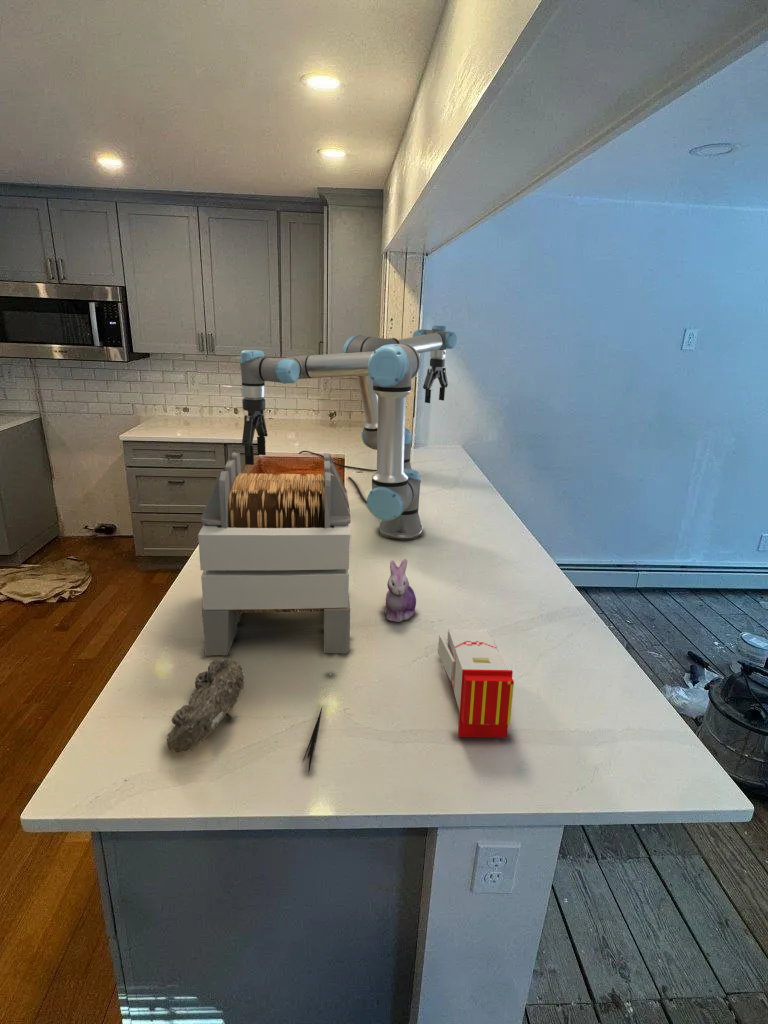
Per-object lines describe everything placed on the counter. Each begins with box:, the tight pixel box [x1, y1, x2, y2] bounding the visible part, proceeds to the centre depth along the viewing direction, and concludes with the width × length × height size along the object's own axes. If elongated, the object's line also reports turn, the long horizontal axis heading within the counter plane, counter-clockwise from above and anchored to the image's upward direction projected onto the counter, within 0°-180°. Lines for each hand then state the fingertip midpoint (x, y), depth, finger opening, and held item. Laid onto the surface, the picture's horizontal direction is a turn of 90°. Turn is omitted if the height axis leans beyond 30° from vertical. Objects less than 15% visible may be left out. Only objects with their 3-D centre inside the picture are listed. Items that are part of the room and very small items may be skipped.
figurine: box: [384, 558, 417, 623], centre depth 145 cm, size 9×10×15 cm
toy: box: [437, 628, 515, 738], centre depth 117 cm, size 12×13×30 cm
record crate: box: [197, 451, 352, 657], centre depth 136 cm, size 34×33×41 cm
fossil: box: [166, 658, 245, 754], centre depth 106 cm, size 22×10×15 cm
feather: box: [301, 673, 332, 771], centre depth 108 cm, size 2×28×2 cm
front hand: (255, 459), depth 197 cm, fingers open, 13 cm apart
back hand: (434, 401), depth 288 cm, fingers open, 13 cm apart
